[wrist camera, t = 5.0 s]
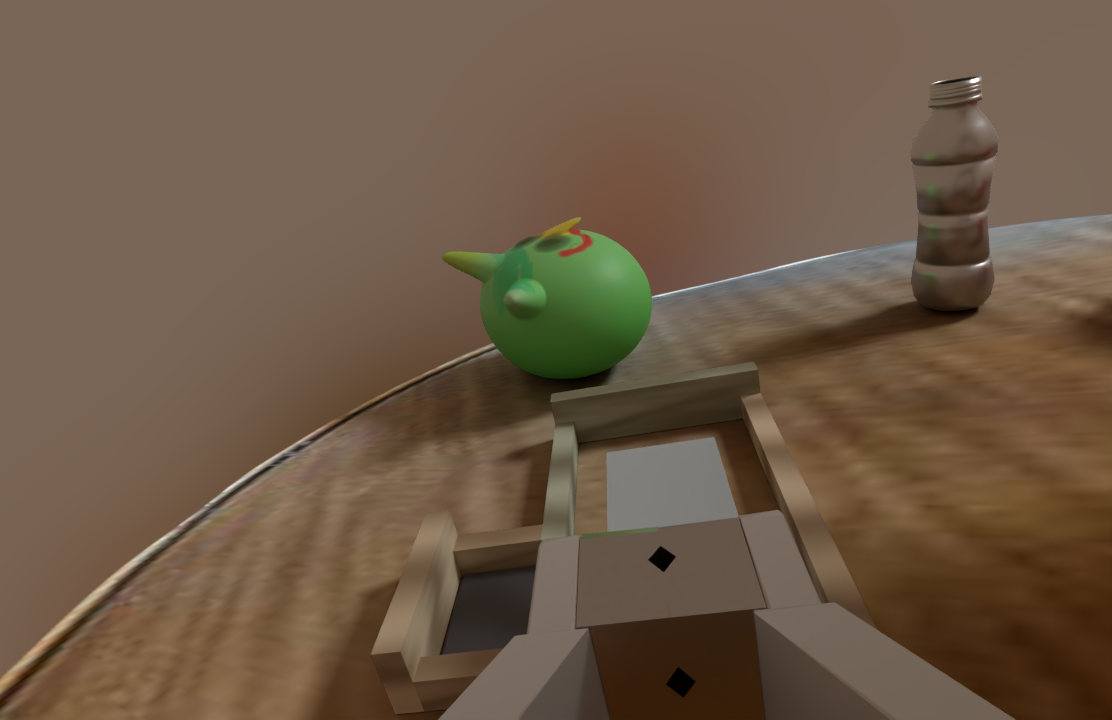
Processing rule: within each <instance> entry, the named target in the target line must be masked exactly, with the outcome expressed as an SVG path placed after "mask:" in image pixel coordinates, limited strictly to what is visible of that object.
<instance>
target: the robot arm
mask: <svg viewBox="0 0 1112 720" xmlns="http://www.w3.org/2000/svg"><path fill="white" fill-rule="evenodd" d="M438 720H1015V719H1014V718H1012V717H1011V716H1009V715H1008V714H1006V713H1005V712H1003V711H1001V710H1000V709H998V708H997V707H995V706H994V705H992V704H991V703H989V702H988V701H986V700H985V699H983V698H981V697H980V696H978V695H977V694H975V693H974V692H972V691H971V690H969V689H968V688H966V687H965V686H963V685H961V684H960V683H958V682H957V681H955V680H954V679H952V678H951V677H949V676H948V675H946V674H944V673H943V672H941V671H940V670H938V669H937V668H935V667H934V666H932V665H931V664H929V663H928V662H926V661H924V660H923V659H921V658H920V657H918V656H917V655H915V654H914V653H912V652H911V651H909V650H908V649H906V648H904V647H903V646H901V645H900V644H898V643H897V642H895V641H894V640H892V639H891V638H889V637H888V636H886V635H884V634H883V633H881V632H880V631H878V630H877V629H875V628H874V627H872V626H871V625H869V624H868V623H866V622H864V621H863V620H861V619H860V618H858V617H857V616H855V615H854V614H852V613H851V612H849V611H848V610H846V609H844V608H843V607H841V606H840V605H838V604H837V603H823V604H821V601H820V599H819V597H818V594H817V592H816V590H815V587H814V585H813V582H812V580H811V578H810V575H809V573H808V571H807V568H806V566H805V564H804V561H803V559H802V557H801V554H800V552H799V550H798V547H797V545H796V543H795V540H794V538H793V536H792V533H791V531H790V529H789V526H788V524H787V522H786V519H785V517H784V514H783V513H782V512H780V511H779V510H773V511H766V512H760V513H753V514H747V515H740V516H738V517H737V518H729V519H721V520H713V521H705V522H697V523H689V524H681V525H674V526H666V527H651V528H641V529H631V530H621V531H611V532H602V533H592V534H582V535H581V536H579V535H574V536H566V537H557V538H549V539H543V540H542V542H541V544H540V545H539V548H538V555H537V562H536V570H535V577H534V585H533V592H532V599H531V607H530V614H529V622H528V629H527V634H526V635H517V636H514V637H513V638H512V640H511V641H510V642H509V643H508V644H507V645H506V646H505V647H504V648H503V649H502V650H501V652H500V653H499V654H498V655H497V656H496V657H495V658H494V659H493V660H492V661H491V662H490V664H489V665H488V666H487V667H486V668H485V669H484V670H483V671H482V672H481V673H480V674H479V676H478V677H477V678H476V679H475V680H474V681H473V682H472V683H471V684H470V685H469V686H468V688H467V689H466V690H465V691H464V692H463V693H462V694H461V695H460V696H459V697H458V698H457V700H456V701H455V702H454V703H453V704H452V705H451V706H450V707H449V708H448V709H447V710H446V712H445V713H444V714H443V715H442V716H441V717H440V718H439V719H438Z"/></svg>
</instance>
